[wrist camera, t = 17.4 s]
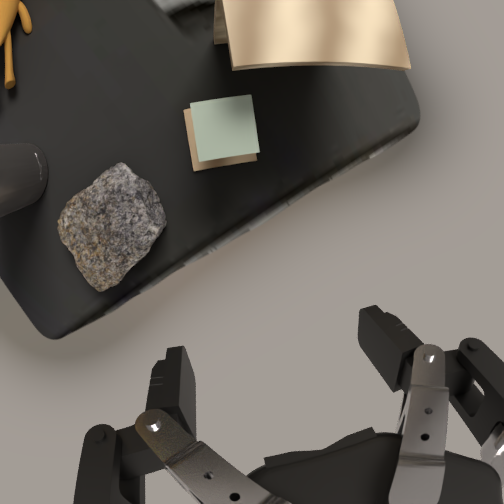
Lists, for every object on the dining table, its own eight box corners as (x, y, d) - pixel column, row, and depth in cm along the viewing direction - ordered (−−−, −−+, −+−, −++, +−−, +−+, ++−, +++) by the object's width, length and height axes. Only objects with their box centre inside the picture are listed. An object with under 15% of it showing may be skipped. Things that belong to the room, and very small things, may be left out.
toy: (37, 87, 34) (35, -36, 20) (43, 62, 25) (49, -78, 11) (-26, 113, 27) (-23, -17, 13) (-40, 96, 18) (-23, -58, 3)
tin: (203, 158, 35) (199, 161, 24) (196, 118, 34) (189, 103, 22) (244, 151, 36) (259, 152, 25) (238, 111, 34) (251, 94, 23)
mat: (193, 171, 36) (193, 171, 36) (183, 110, 33) (183, 109, 33) (256, 160, 37) (257, 160, 36) (247, 100, 34) (247, 99, 34)
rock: (135, 152, 34) (57, 215, 36) (118, 152, 28) (34, 226, 30) (186, 232, 39) (104, 285, 40) (179, 247, 32) (88, 306, 34)
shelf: (223, 103, 34) (233, 66, 18) (213, 38, 30) (217, -32, 14) (335, 94, 35) (411, 68, 19) (323, 33, 31) (386, -20, 15)
